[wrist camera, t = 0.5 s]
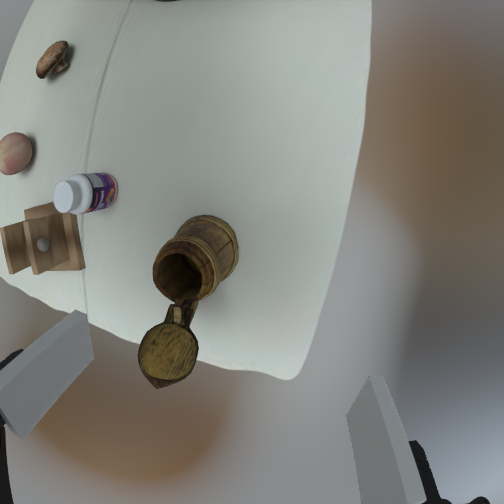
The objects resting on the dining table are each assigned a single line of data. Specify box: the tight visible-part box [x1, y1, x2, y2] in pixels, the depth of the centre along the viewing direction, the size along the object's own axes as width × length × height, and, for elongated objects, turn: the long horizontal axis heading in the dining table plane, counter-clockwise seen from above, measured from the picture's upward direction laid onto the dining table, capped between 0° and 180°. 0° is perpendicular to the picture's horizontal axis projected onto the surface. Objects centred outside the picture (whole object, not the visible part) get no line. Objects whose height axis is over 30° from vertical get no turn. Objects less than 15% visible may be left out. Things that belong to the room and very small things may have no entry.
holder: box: [0, 202, 86, 275], centre depth 34 cm, size 12×14×10 cm
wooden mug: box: [138, 215, 238, 389], centre depth 28 cm, size 9×14×18 cm, turn 173°
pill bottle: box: [53, 173, 118, 215], centre depth 31 cm, size 5×5×10 cm
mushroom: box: [36, 41, 69, 79], centre depth 28 cm, size 8×8×6 cm
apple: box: [0, 132, 32, 175], centre depth 31 cm, size 8×8×8 cm
